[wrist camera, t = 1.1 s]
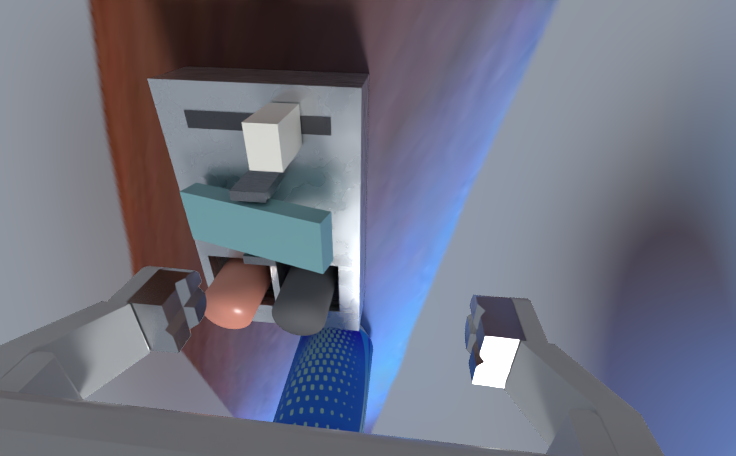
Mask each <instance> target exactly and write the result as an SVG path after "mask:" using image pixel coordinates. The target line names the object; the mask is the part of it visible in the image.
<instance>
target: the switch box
mask: <svg viewBox="0 0 736 456" xmlns="http://www.w3.org/2000/svg"><path fill="white" fill-rule="evenodd" d="M148 83H149V86H150V89H151V93H152V96H153V100H154V103H155V107H156V110H157V113H158V117H159V120H160V124H161V127H162V130H163V134H164V137H165V141H166V144H167V148H168V151H169V154H170V158H171V161H172V165H173V168H174V171H175V175H176V178H177V182H178V185H179V189H180V191H182V190H183V189H185V188H187V187H189V186H191V185H193V184H194V183H201V184H206V185H210V186H215V187H220V188H224V189H229V194H230V199H231V200H233V201H247V202H262V203H266V202H267V201H268V200H269V198H270V199H275V200H280V201H284V202H289V203H294V204H298V205H303V206H307V207H312V208H317V209H321V210H326V211H331V213H332V238H333V262H332V263H331V264H330V265H331V266H338V271H339V276H338V277H337V281H336V284H335V288H334V292H333V296H332V299H331V303H330V307H329V311H328V315H327V318H326V322H325V325H324V327H323V328H333V329H343V330H354V331H359V328H360V321H361V315H362V309H363V302H364V296H365V258H366V211H367V164H368V117H369V74H365V73H340V72H316V71H291V70H266V69H242V68H217V67H193V66H187V67H184V68H180V69H177V70H174V71H171V72H167V73H164V74H161V75H158V76H154V77H151V78H148ZM267 103H289V104H299V111H300V123H301V136H302V147H301V149H300V150H299V151H298V153H297V154H296V155H295V157H294V158H293V160H292V161H291V162H290V164H289V165H288V166H287V168H286V169H285V170H284V172H269V171H253V170H249V164H248V158H247V152H246V146H245V140H244V134H243V128H242V123H241V122H243V121H244V120H245V119H247V118H248V117H249V116H251V115H252V114H254V113H255V112H256V111H258V110H259V109H260V108H262V107H263V106H264V105H266V104H267ZM194 240H195V243H196V247H197V250H198V253H199V257H200V260H201V264H202V267H203V270H204V274H205V277H206V281H207V284H208V287H209V286H210V285H211V283H212V282H213V280H214V279H215V277H216V276H217V275H218V273H219V272H220V270H221V269H222V267H223V266H224V265H225V263H226V262H227V260H228V259H229V257H232V258H243V261H244V264H255V265H267V266H270V271H271V277H272V281H271V283H270V285H269V287H268V289H267V291H266V293H265V295H264V297H263V299H262V301H261V303H260V305H259V307H258V309H257V311H256V313H255V315H254V317H253V319H252V321H259V322H269V323H276V322H275V321H274V319H273V317H272V308H273V305H274V303H275V301H276V299H277V296H278V294H279V292H280V290H281V287H282V285H283V283H284V281H285V278H286V276H287V274H288V272H289V270H290V267H291V265H288V264H284V263H281V262H277V261H273V260H270V259H266V258H263V257H259V256H255V255H252V254H248V253H244V252H241V251H237V250H233V249H230V248H226V247H222V246H219V245H215V244H211V243H208V242H204V241H200V240H197V239H194Z"/></svg>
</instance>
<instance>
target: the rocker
mask: <svg viewBox="0 0 736 456" xmlns="http://www.w3.org/2000/svg"><path fill="white" fill-rule="evenodd" d="M180 195H181V198H182V201H183V205H184V208H185V212H186V215H187V218H188V222H189V225H190V229H191V232H192V235H193V239H197V240H200V241H204V242H208V243H211V244H215V245H219V246H222V247H226V248H230V249H233V250H237V251H241V252H244V253H248V254H252V255H255V256H259V257H263V258H266V259H270V260H273V261H277V262H281V263H284V264H288V265H292V266H295V267H299V268H303V269H306V270H310V271H314V272H317V273H321V274H324V272H325V271H326V270H327V268H328V267H329V266H330V264H331V263H332V262H333V238H332V213H331V211H326V210H321V209H317V208H312V207H307V206H303V205H298V204H294V203H289V202H284V201H280V200H275V199H270V198H269V200H268V201H267V202H266V203H262V202H247V201H233V200H231V199H230V194H229V189H224V188H220V187H215V186H210V185H206V184H201V183H194V184H193V185H191V186H189V187H187V188H185V189H183V190H182V191H180Z"/></svg>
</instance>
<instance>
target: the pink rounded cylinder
mask: <svg viewBox="0 0 736 456" xmlns="http://www.w3.org/2000/svg"><path fill="white" fill-rule="evenodd" d="M271 281H272V277H271V271H270V266H267V265H255V264H244V261H243V258H232V257H229V259H228V260H227V262H226V263H225V265H224V266H223V267H222V269H221V270H220V272H219V273H218V275H217V276H216V277H215V279H214V280H213V282H212V283H211V285H210V286H209V287H208V289H207V290H206V292H205V295H206V299H207V307H206V310H205V314H204V315H205V316H206V317H207V318H208V319H209V320H210V321H212V322H213V323H215V324H217V325H219V326H221V327H225V328H229V329H240V328H244V327H246V326H248V325H249V324H250V323H251V321H252V319H253V317H254V315H255V313H256V311H257V309H258V307H259V305H260V303H261V301H262V299H263V297H264V295H265V293H266V291H267V289H268V287H269V285H270V283H271Z"/></svg>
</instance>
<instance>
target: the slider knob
mask: <svg viewBox="0 0 736 456" xmlns="http://www.w3.org/2000/svg"><path fill="white" fill-rule="evenodd" d="M241 123H242V128H243V134H244V140H245V146H246V152H247V158H248V164H249V170H253V171H269V172H284V170H285V169H286V168H287V166H288V165H289V164H290V162H291V161H292V160H293V158H294V157H295V155H296V154H297V153H298V151H299V150H300V149H301V147H302V136H301V123H300V111H299V104H289V103H267V104H266V105H264V106H263V107H262V108H260V109H259V110H258V111H256V112H255V113H254V114H252V115H251V116H249V117H248V118H247V119H245V120H244V121H243V122H241Z"/></svg>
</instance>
